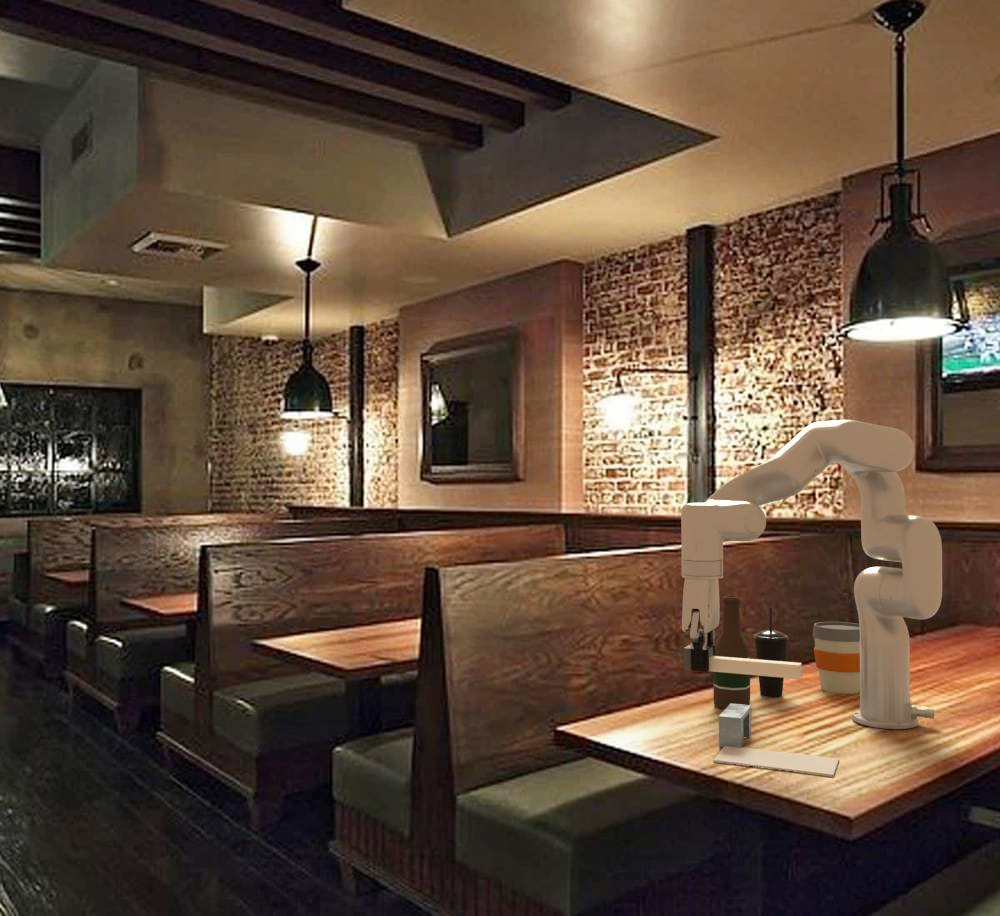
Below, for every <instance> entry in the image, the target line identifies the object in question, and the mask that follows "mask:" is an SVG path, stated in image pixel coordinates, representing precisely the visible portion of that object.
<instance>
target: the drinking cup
mask: <svg viewBox="0 0 1000 916" xmlns="http://www.w3.org/2000/svg"><path fill="white" fill-rule="evenodd" d="M768 610H769V611H768V612H769V615H768V619H769V620H768V621H769V622H768V626H769V627H768V629H765V630H761V631H758V632H757V633H754V634H753V638H754V642H755V651H756V659H759V660H772V661H784V662H786V651H787V645H788V644H787V643H788V640H789V636H788V635H787V634H785V633H783V632H781V631H779V630H775V629H773V607H769V608H768ZM784 679H785V678H781V677H770V676H758V683H759V693H760V694H759V695H760V696H762V697H766V698H781V697H782V696H783V689H784Z"/></svg>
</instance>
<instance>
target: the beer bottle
mask: <svg viewBox="0 0 1000 916" xmlns="http://www.w3.org/2000/svg"><path fill="white" fill-rule="evenodd" d="M722 602H723V610H722V611H723V614H722V628H721V633H720V635H719V636H718V637H717V639H715V644H714V645H715V656H722V657H734V658H747V659H751V654H750V653H751V652H750V647H749V645H748V641H747V640H746V638H745V637H744V635H743V633H742V629H741V615H740V603H741V598H740V597H739V596H737V595H726V596H723V598H722ZM712 672H713V671H712ZM712 681H713V687H712V688H713V705H714V707H716V708H717V707H718V708H717V709H719V708H720V710H723V709H726V708H727V707H728V706H729V705H730V703H734V704H744V705H751V675H747V674H736V673H724V672H713V679H712Z"/></svg>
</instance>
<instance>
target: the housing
mask: <svg viewBox="0 0 1000 916" xmlns="http://www.w3.org/2000/svg"><path fill="white" fill-rule="evenodd" d="M752 714H753V713H752V705H751V704H750V705H744V704H734V703H730V705H729V706H728V707H727V708H726V709H725V710H723V711H722V712H721V713H720V714H719V715H718V748H719V747H724V746H729V747H738V748H741V747H744V738H743V737H746V738H745V739H750V738H751V737H752V730H753V728H752V727H753V726H752V716H753V715H752ZM750 736H751V737H750Z"/></svg>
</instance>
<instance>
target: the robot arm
mask: <svg viewBox="0 0 1000 916" xmlns="http://www.w3.org/2000/svg"><path fill="white" fill-rule="evenodd" d="M914 457H915V445H914V442H913V440H912V438H911V437H910V435H908V433H906V432H905V431H903V430H902V429H899V428H895V427H892V426H891V427H890V426H886V425H881V424H880V425H879V424H874V423H870V422H864V421H859V420H853V419H839V420H837V419H836V420H826V421H825V420H824V421H816V422H812V423H810V424H809V425H807V426H806V427H804V428H803V429H802V430H800V432H798V433H797V434H796V435H795V436H794V437H793V438H792V439H791V440H789V442H787V443H786V444H785V445H784V446H783V447H781V449H780V450H778V451H777V452H775V454H774V455H772V456H771V457H770V458H769V459H768V460H766V461H765V462H763V463H760V464H758V465H757V466H754V467H752V468H751V469H749V470H747V471H745V472H744V473H742V474H740V475H738V476H736V477H734V478H733V479H731V480H729V481H728V482H725V484H723V485H721V486H720V487H719V488H718V489H717V490H715V492H713V494H711V495H710V496H709V497H708V498H707V499H706V500H705V501H704V502H688V503H685V504H684V505H682V508H681V511H680V515H681V516H680V518H681V521H680V522H681V523H680V524H681V526H680V527H681V530H680V531H681V533H680V534H681V539H680V540H681V577H682V578H683V579H684V582H683V594H682V612H681V613H682V614H681V630H682V631H683V632H684V633H687V632H689V638H690V645H691V670H692V672H701V673H702V672H703V673H709V672H710V671H709V650H707V646H713V656H715V643H716V638H715V637H716V635H715V633H716V631H715V629H716V628H717V627H719V624H720V617H721V615H720V613H721V612H720V609H721V608H720V605H721V604H720V585H719V579H720V580H721V579H724V541H733V542H750V541H754V540H756V539H757V538H759V537H760V536H761V535H762V534H763V533H764V532H765V529H766V528H767V527H766V525H767V516H766V514H765V512H764V511H763V509H762V508H761V507H760V506H762V505H763V506H764V505H766V504H769V503H774V502H777V501H781V500H785V499H787V498H790V497H793V496H795V495H798V494H799V493H801V492H802V491H803V490H804V489H805V488H806V487H807V486H808V485H809V484H810V483H811V482H812V481H813V480H815V478H816V477H818V476H819V475H820V474H821V473H822V472H824V470H826V469H827V468H828V467H829V466H831V465H834V464H835V465H836V464H837V465H840V466H841V468H843V470H845V471H846V472H847V473H848V474H849V475H850V476H851V478H852V479H853V480H854V482H855V483H856V485H857V488H858V490H859V495H860V496H859V497H860V525H861V526H860V527H861V528H860V531H861V532H860V533H861V534H860V535H861V537H860V538H861V547H862V550H863V551H864V553H865V555H866V556H868V557H870V558H872V559H875V560H880V561H887V562H897V563H898V562H899V563H901V566H902V568H901V567H892V566H891V567H890V566H889V567H888V566H872V567H868V568H865V569H863V570H862V571H861V572H860V573H859V574H858V575H857V577H856V578H855V581H854V584H853V594H854V600H855V605H856V610H857V615H858V624H859V630H860V692H859V709H858V710H855V711H853V712H852V713H851V720H852V721H854V723H855V722H856V723H858V724H860V725H863V726H867V727H871V728H878V729H887V730H907V729H912V728H915V727H918V725H919V718H925V719H933V720H934V719H935V709H934V708H929V707H928V706H918V705H916V704H913V699H912V698H911V686H910V685H911V683H910V682H911V681H910V680H911V679H910V677H911V673H910V672H911V670H910V669H911V668H910V667H911V663H910V660H911V659H910V658H911V657H910V652H911V651H910V649H911V648H910V646H911V644H910V641H911V640H910V639H911V638H910V634H909V630H908V625H907V624H906V621H905V620H904V618H908V619H913V620H927V619H930V618H932V617H933V616H935V614H936V613H938V611H939V608H940V606H941V605H942V604H941V603H942V598H943V544H942V537H941V534H940V532H939V529H938V527H937V526H936V524H935V523H934V522H933V521H932V520H930V519H929V518H927V517H924V516H922V515H916V514H915V515H912V514H907V510H906V494H905V487H904V484H903V481H902V479H901V478H900V476H899V474H898V473H897V472H901V471H902V470H905V469H906V468H908V466H909V465H910V464H911V463H912V462H913V460H914ZM691 670H690V671H691ZM708 671H709V672H708Z"/></svg>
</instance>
